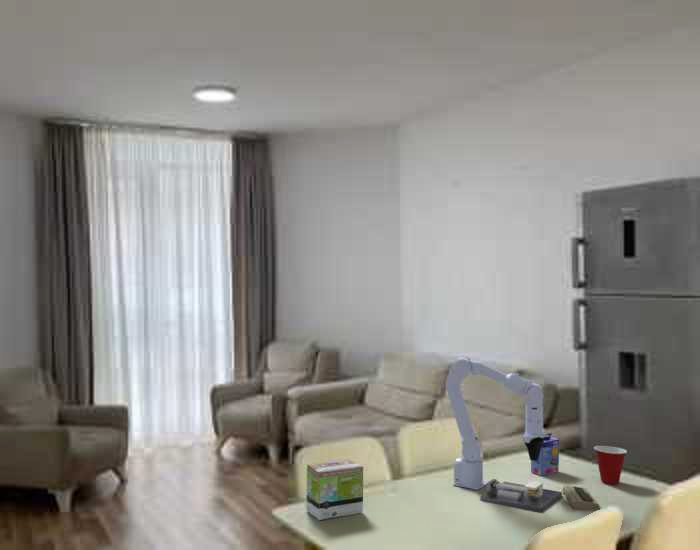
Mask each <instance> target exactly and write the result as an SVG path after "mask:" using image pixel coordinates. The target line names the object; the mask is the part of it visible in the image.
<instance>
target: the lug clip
mask: <svg viewBox="0 0 700 550" xmlns="http://www.w3.org/2000/svg"><path fill="white" fill-rule="evenodd" d="M524 485H525V486H524V488H525V489H530V490H536V489H539V492H537V493H536V494H533V493H528V495H529V496H534V497H541V496H542V495H543V489H544V488H543V487H544V486H543V482H539V481H534V480H531V481H530V482H528V483H527V484H524Z"/></svg>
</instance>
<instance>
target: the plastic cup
mask: <svg viewBox="0 0 700 550" xmlns="http://www.w3.org/2000/svg"><path fill="white" fill-rule="evenodd" d="M593 448H594V450H595V455H596V458H597V459H596V461H597V466H598V471H599V476H600V482H601V483H602V482H603V483H602V484H604V485H608V484H610V485H609V486H616V485H615V484H617V485H619V484H620V479H621V474H622V471H623V464H624V459H625V455H626V454H627V453H628V451H627V449H624V448H622V447H616V446H609V445H596V446H594V447H593ZM618 483H619V484H618Z"/></svg>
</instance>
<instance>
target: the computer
mask: <svg viewBox="0 0 700 550" xmlns="http://www.w3.org/2000/svg"><path fill="white" fill-rule="evenodd" d="M561 492H562V495H564V496H565V499H566V501H568V503H569V505H570V506H571V507H572V509H573V510H590V511H591V510H593V511H594V510H598V509H599V510H600V504H599V503H598V502H597V500H596V499H595V497H593V495H592V494H591V493H590V491H589V490H588V489H587V488H585V487H583V486H582V487H580V486H575V485H563V487H562V490H561Z"/></svg>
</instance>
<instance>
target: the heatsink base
mask: <svg viewBox="0 0 700 550" xmlns="http://www.w3.org/2000/svg"><path fill="white" fill-rule="evenodd" d="M497 481H498V480H497V479H496V478H492V479H491V480H489V481H487V482H486V483H487V485H486V492H485V493H484V494H482V495H481V496H480V501H482V502H483V501H484V502H488V503H493V504H498V505H502V506H508V507H512V508H518V509H521V510H522V509H523V510H527V511H532V512H538V513H541V512H543V511H545V509H547V508H548V507H550V505H551V504H554V502H556V501H557V500H558V499H559V498H561V497H562V495H563V493H562V491H557V490H552V489H547V488H543V495H542V496H541V497H534V496H529V495H528V493H526V492H520V491H514V490H508V489H502V488H492V484H494V483H495V482H497ZM502 483H504V484H511V485H517V486H523V487H524V486H525V485H526V484H519V483H513V482H507V481H503V482H502Z"/></svg>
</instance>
